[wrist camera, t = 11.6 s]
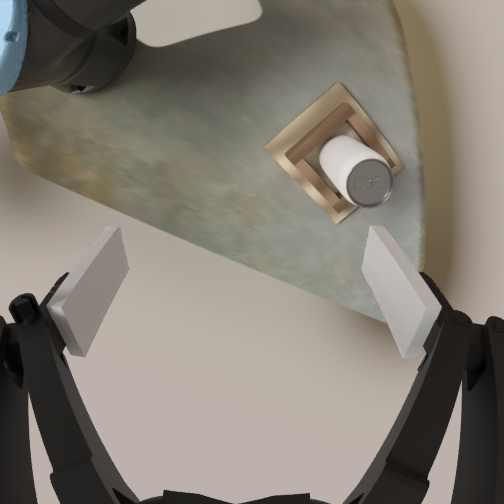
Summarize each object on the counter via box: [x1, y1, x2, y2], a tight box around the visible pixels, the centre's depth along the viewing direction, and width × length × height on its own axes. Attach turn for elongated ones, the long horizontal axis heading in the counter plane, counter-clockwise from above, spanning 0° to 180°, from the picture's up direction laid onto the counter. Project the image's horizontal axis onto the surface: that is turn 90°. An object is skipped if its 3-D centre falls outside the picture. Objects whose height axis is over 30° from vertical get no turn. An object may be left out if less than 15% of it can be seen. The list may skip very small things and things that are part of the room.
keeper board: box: [263, 82, 404, 224], centre depth 40 cm, size 16×14×3 cm
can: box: [319, 135, 394, 208], centre depth 35 cm, size 6×6×12 cm
